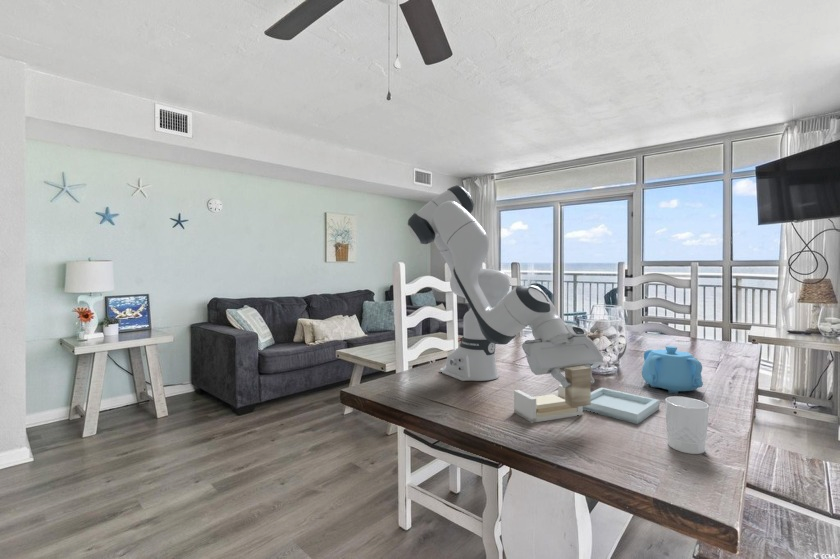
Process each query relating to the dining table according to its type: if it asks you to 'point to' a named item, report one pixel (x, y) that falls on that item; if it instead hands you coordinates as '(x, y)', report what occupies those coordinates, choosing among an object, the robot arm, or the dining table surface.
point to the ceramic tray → (621, 405)
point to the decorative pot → (672, 370)
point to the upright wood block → (578, 386)
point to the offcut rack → (543, 406)
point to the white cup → (686, 424)
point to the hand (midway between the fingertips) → (579, 384)
